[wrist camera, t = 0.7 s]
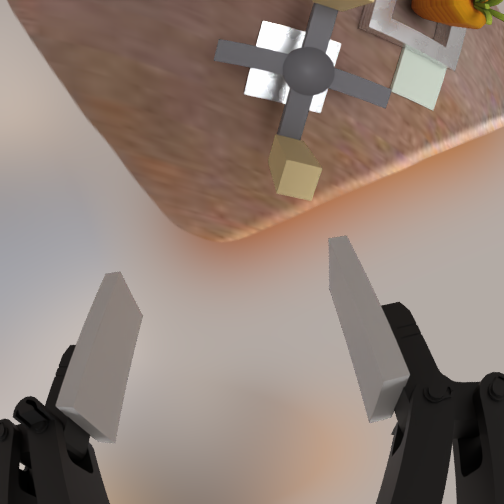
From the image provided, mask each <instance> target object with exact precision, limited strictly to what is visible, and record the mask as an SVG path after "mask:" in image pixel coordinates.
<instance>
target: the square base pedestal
mask: <svg viewBox="0 0 504 504" xmlns="http://www.w3.org/2000/svg"><path fill="white" fill-rule="evenodd" d="M304 35H305V32H304V31H301V30H297V29H294V28H290V27H286V26H282V25H278V24H274V23H270V22H266V21H262V25H261V28H260V32H259V36H258V40H257V43H256V46H257V47H262V48H266V49H270V50H274V51H278V52H282V53H286V54H288V53H289V52H291V51H292V50H294V49H297V48H301V46H302V42H303V39H304ZM340 46H341V43H338V42H335V41H333V40H330V41H329V44H328V48H327V51H326V54H327V55H328V56H329V57H330V59H331V60H332V62H333V65H334V66H335V63H336V60H337V56H338V53H339V49H340ZM289 89H290V87H289V86H288V85H287V84H286V83H285V81H284V79H283V77H282V75H280V74H276V73H272V72H268V71H263V70H259V69H254V68H250V70H249V74H248V78H247V82H246V86H245V90H244V94H245V95H249V96H254V97H259V98H263V99H268V100H272V101H276V102H280V103H284V104H285V103H286V99H287V96H288V92H289ZM327 90H328V89H327ZM327 90H326V91H324V92H323V93H320V94H318V95H313V99H312V102H311V106H310V109H309V110H310V111H314V112H317V113H321V109H322V106H323V103H324V100H325V96H326V93H327Z"/></svg>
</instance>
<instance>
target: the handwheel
mask: <svg viewBox="0 0 504 504" xmlns="http://www.w3.org/2000/svg"><path fill="white" fill-rule="evenodd" d="M312 2H314V4H313V7H312V11H311V14H310V18H309V21H308V25H307V28H306V32H305V35H304V39H303V42H302V46H301V48H297V49H294V50H292V51H291V52H289V53H288V54H286V53H282V52H278V51H274V50H270V49H266V48H262V47H257V46H253V45H248V44H243V43H238V42H233V41H227V40H221V39H219V41H218V45H217V49H216V53H215V57H214V61H219V62H224V63H230V64H235V65H240V66H245V67H250V68H254V69H259V70H263V71H268V72H272V73H276V74H280V75H282V77H283V79H284V81H285V83H286V84H287V85H288V86H289V87H290V89H289V92H288V96H287V99H286V103H285V107H284V110H283V114H282V117H281V121H280V125H279V128H278V132H277V135H276V134H275V137H274V141H273V144H272V148H271V152H270V155H269V159H268V163H269V167H270V171H271V174H272V178H273V182H274V185H275V189H276V193H277V194H282V195H286V196H291V197H296V198H300V199H305V200H310V201H311V200H312V197H313V194H314V191H315V188H316V186H317V183H318V180H319V177H320V174H321V171H322V167H321V166H320V164H319V163H318V161H317V160H316V158H315V157H314V155H313V154H312V152H311V151H310V150H309V148H308V147H307V145H306V144H305V143H304V141H301V140H300V139H301V136H302V132H303V129H304V126H305V122H306V119H307V116H308V112H309V109H310V106H311V102H312V99H313V95H318V94H320V93H323V92H324V91H326V90H327V89H328V88H329V89H332V90H336V91H339V92H342V93H345V94H347V95H350V96H353V97H356V98H359V99H362V100H364V101H367V102H370V103H372V104H375V105H378V106H380V107H383V108H385V109H386V106H387V103H388V100H389V97H390V94H391V91H392V90H391V89H389V88H386V87H384V86H382V85H379V84H377V83H374V82H372V81H369V80H367V79H364V78H361V77H359V76H356V75H353V74H350V73H348V72H345V71H342V70H339V69H336V68H334V65H333V62H332V60H331V59H330V57H329V56H328V55H327V54H326V51H327V48H328V44H329V41H330V37H331V34H332V31H333V27H334V24H335V20H336V17H337V13H338V11H341V12H343V11H346V10H349V9H352V8H356V7H359V6H363V5H366V4H370V3H373V2H374V0H313V1H312Z"/></svg>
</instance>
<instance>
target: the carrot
mask: <svg viewBox="0 0 504 504" xmlns="http://www.w3.org/2000/svg"><path fill="white" fill-rule="evenodd" d="M502 1H503V0H412V3H411V8H412V9H413V11H414V12H415V13H416V14H417V15H419V16H420V17H422V18H424V19H427V20H431V21H435V22H438V23H442V24H446V25H449V26H454V27H462V28H471V29H479V28H481V27H482V26H483V25H484V24H488V25H491V24H492V15H493V16H494V17H496V18H498V19H500V20H502V21H503V22H504V14H502V13H500V12H497V11H495V10H492V9H490V7H491V6H495V5H498V4H499V3H501V2H502Z"/></svg>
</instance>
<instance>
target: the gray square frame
mask: <svg viewBox="0 0 504 504" xmlns="http://www.w3.org/2000/svg"><path fill="white" fill-rule="evenodd" d="M395 4H396V0H374V2H373V3H370V4H366V5H364V9H363V13H362V16H361V20H360V23H359V27H358V28H359V29H361V30H364V31H366V32H369V33H371V34H374V35H376V36H378V37H380V38H383V39H385V40H387V41H389V42H392V43H394V44H396V45H398V46H400V47H402V48H406V49H408V50H410V51H412V52H414V53H416V54H418V55H420V56H422V57H424V58H426V59H428V60H429V61H431V62H433V63H435V64H437V65H438V66H440V67H442V68H444V69H449V70H453V71H455V69H456V65H457V62H458V59H459V55H460V51H461V48H462V44H463V40H464V36H465V32H466V28H462V27H454V26H449V25H446V24H442V23H438V24H437V28H436V32H435V36H434V39H431V38H429V37H427V36H425V35H424V34H422V33H420V32H418V31H416V30H414V29H412V28H411V27H409V26H407V25H405V24H403V23H401V22H399V21H397V20H394V19H392V15H393V11H394V7H395Z"/></svg>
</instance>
